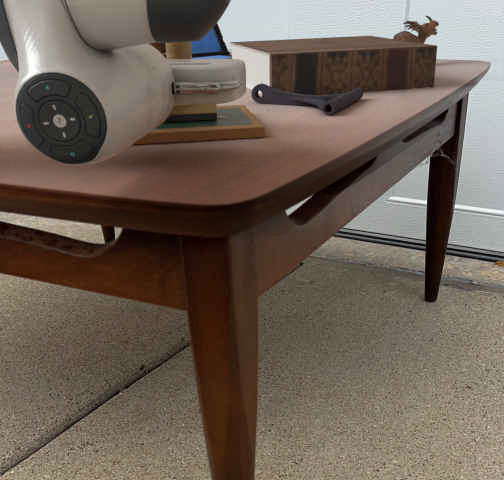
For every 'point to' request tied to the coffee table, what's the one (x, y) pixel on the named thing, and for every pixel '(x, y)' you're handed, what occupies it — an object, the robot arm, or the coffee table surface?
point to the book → (337, 64)
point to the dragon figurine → (418, 31)
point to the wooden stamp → (188, 110)
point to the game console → (210, 46)
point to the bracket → (305, 98)
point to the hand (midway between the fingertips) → (165, 71)
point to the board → (209, 128)
